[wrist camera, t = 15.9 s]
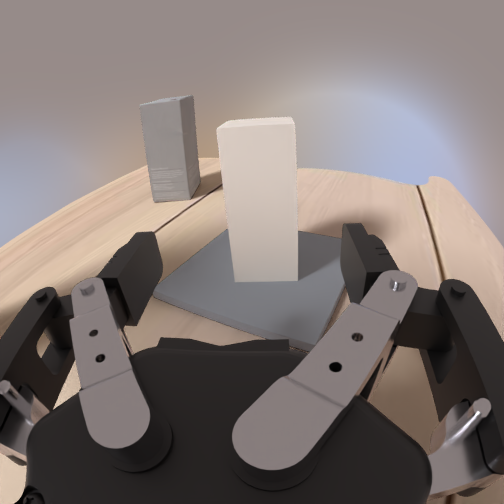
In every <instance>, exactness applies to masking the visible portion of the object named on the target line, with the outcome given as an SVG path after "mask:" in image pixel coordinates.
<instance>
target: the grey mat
mask: <svg viewBox="0 0 504 504" xmlns="http://www.w3.org/2000/svg"><path fill="white" fill-rule="evenodd" d="M341 241H342V239H341V238H336V237H330V236H325V235H319V234H313V233H308V232H302V231H298V281H275V282H235V278H234V271H233V263H232V255H231V248H230V240H229V232H228V229H226V230H225V231H224V232H222V233H221V234H220V235H219V236H217V237H216V238H215V239H214V240H212V241H211V242H210V243H209V244H207V245H206V246H205V247H204V248H202V249H201V250H200V251H199V252H197V253H196V254H195V255H194V256H192V257H191V258H190V259H189V260H187V261H186V262H185V263H184V264H182V265H181V266H180V267H179V268H177V269H176V270H175V271H174V272H172V273H171V274H170V275H169V276H168V277H166V278H165V279H164V280H163V281H161V282H160V283H159V284H158V285H157V286H156V288H155V289H154V291H153V296H154V297H155V298H157V299H159V300H162V301H164V302H167V303H169V304H172V305H174V306H177V307H180V308H182V309H185V310H187V311H190V312H193V313H195V314H198V315H201V316H203V317H206V318H209V319H211V320H214V321H217V322H220V323H222V324H225V325H228V326H231V327H234V328H237V329H240V330H242V331H245V332H248V333H251V334H254V335H257V336H260V337H263V338H266V339H270V340H275V339H289V346H292V347H295V348H298V349H302V350H305V351H308V352H310V351H311V350H312V349H313V348H314V347H315V346H316V345H317V343H318V342H319V341H320V340H321V338H322V336H323V334H324V332H325V330H326V328H327V326H328V323H329V321H330V319H331V317H332V315H333V313H334V310H335V308H336V306H337V304H338V302H339V299H340V297H341V295H342V292H343V290H344V288H345V286H346V285H345V282H344V279H343V276H342V272H341V267H340V254H341Z"/></svg>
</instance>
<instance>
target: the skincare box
mask: <svg viewBox="0 0 504 504" xmlns="http://www.w3.org/2000/svg"><path fill="white" fill-rule="evenodd" d="M140 111H141V119H142V127H143V136H144V143H145V151H146V158H147V164H148V171H149V177H150V184H151V190H152V195H153V201H154V202H163V201H178V200H190V199H191V198H192V196H193V194H194V192H195V191H196V189H197V187H198V186H199V184H200V182H201V181H200V171H199V161H198V150H197V138H196V126H195V112H194V99H193V96H192V95H190V96H181V97H173V98H164V99H160V100H156V101H153V102H149V103H146V104H142V105H140Z"/></svg>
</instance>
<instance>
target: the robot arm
mask: <svg viewBox="0 0 504 504" xmlns="http://www.w3.org/2000/svg"><path fill="white" fill-rule="evenodd" d="M340 267H341V272H342V276H343V279H344V282H345V285H346V289H347V292H348V295H349V299H350V302H351V304H350V305H349V306H348V307H347V308H346V310H345V311H344V312H343V313H342V315H341V316H340V317H339V318H338V319H337V321H336V322H335V323H334V324H333V326H332V327H331V328H330V329H329V330H328V332H327V333H326V334H325V335H324V336H323V338H322V339H321V340H320V341H319V342H318V343H317V345H316V346H315V347H314V348H313V349H312V350H311V351H310V353H309V354H307V353H304V352H301V351H297V350H293V349H289V339H275V340H252V341H247V342H242V343H236V344H231V345H225V346H217V345H213V344H209V343H205V342H201V341H197V340H193V339H183V338H163V337H161V338H160V340H159V343H158V345H157V347H152V348H148V349H145V350H142V351H139V352H137V353H135V354H134V353H133V351H132V348H131V346H130V343H129V341H128V338H127V336H126V334H125V331H124V329H123V328H124V326H125V325H127V326H137V324H138V322H139V320H140V318H141V316H142V314H143V312H144V309H145V307H146V305H147V303H148V301H149V299H150V297H151V295H152V293H153V291H154V289H155V288H156V286H157V284H158V282H159V280H160V278H161V276H162V272H163V264H162V260H161V256H160V252H159V248H158V244H157V240H156V236H155V234H154V232H152V231H151V232H137V233H135V235H134V236H133V237H132V238H131V239H130V241H129V242H128V243H127V244H125V245H124V246H123V247H121V248H120V249H118V250H117V252H116V253H115V254H114V255H113V258H111V259H110V260H109V263H107V264H106V266H105V267H104V268H103V270H102V271H101V272H100V273H99V275H98V276H97V277H95V278H88V279H85V280H83V281H81V282H80V283H78V284H77V285H76V286H75V287H74V288H73V290H72V292H71V295H67V296H62V297H59V296H58V294H57V292H56V290H55V289H54V288H52V287H46V288H43V289H40V290H39V291H37V292H36V293H34V294H33V295H32V296H31V297H30V299H29V300H28V301H27V303H26V304H25V305H24V307H23V308H22V309H21V311H20V312H19V313H18V315H17V316H16V317H15V319H14V320H13V322H12V323H11V324H10V326H9V327H8V329H7V330H6V332H5V333H4V335H3V336H2V338H1V339H0V453H1V454H3V455H5V456H7V457H8V458H9V459H11V460H12V461H13V462H15V463H16V464H18V465H21V466H24V465H27V473H26V483H25V489H24V492H23V494H22V496H21V498H20V499H19V500H18V501H17V502H16V503H14V504H426V501H429V500H433V499H437V498H440V497H444V496H447V495H450V494H453V493H457V494H458V495H460V496H464V497H468V496H472V495H474V494H476V493H478V492H480V491H481V490H483V489H485V488H486V487H488V486H490V485H491V484H493V483H495V482H496V481H498V480H499V479H501V478H502V477H504V342H503V340H502V338H501V336H500V335H499V333H498V331H497V329H496V327H495V326H494V324H493V322H492V320H491V318H490V317H489V315H488V313H487V312H486V310H485V308H484V307H483V305H482V303H481V302H480V300H479V298H478V297H477V295H476V294H475V292H474V291H473V289H472V288H471V287H470V286H469V285H468V284H466V283H464V282H462V281H460V280H455V279H448V280H445V281H443V282H442V283H441V285H440V288H439V291H437V290H430V289H424V288H420V287H418V284H417V281H416V280H415V278H414V277H413V276H411V275H410V274H408V273H406V272H403V271H400V270H399V269H398V267H397V265H396V263H395V262H394V260H393V258H392V256H391V255H390V253H389V251H388V250H387V249H386V246H385V245H384V243H383V241H382V240H381V239H379V238H378V237H376V236H375V235H368V234H367V232H366V230H365V229H364V227H363V225H362V224H361V223H351V224H343V228H342V241H341V254H340ZM43 332H45V334H46V336H47V337H48V339H49V340H50V344H49V345H48V347H47V349H46V351H45V353H44V354H43V356H42V358H40V356H39V355H38V353H37V349H36V346H37V342H38V340H39V338H40V336H41V335H42V333H43ZM398 346H404V347H411V348H417V349H419V351H420V354H421V357H422V360H423V363H424V367H425V370H426V373H427V377H428V380H429V384H430V387H431V391H432V394H433V398H434V402H435V406H436V410H437V414H438V418H439V422H440V423H439V424H438V426H437V427H436V428H435V429H434V431H433V433H432V435H431V440H430V453H429V455H428V456H427V454H426V452H425V451H424V449H423V448H422V447H421V446H420V445H419V444H418V443H417V442H416V441H415V440H414V439H412V438H411V437H410V436H409V435H407V434H406V433H405V432H404V431H403V430H401V429H400V428H399V427H398V426H397V425H395V424H394V423H393V422H392V421H391V420H389V419H388V418H387V417H386V416H385V415H383V414H382V413H381V412H380V411H379V410H377V409H376V408H375V407H374V406H373V405H372V404H370V403H369V401H370V399H371V397H372V395H373V393H374V391H375V389H376V387H377V385H378V383H379V382H380V380H381V378H382V376H383V374H384V373H385V371H386V369H387V367H388V365H389V364H390V362H391V360H392V358H393V356H394V354H395V352H396V350H397V349H398ZM75 359H76V365H77V370H78V375H79V379H80V384H81V389H80V390H79V392H78V393H77V394H75V395H74V396H72V397H71V398H69V399H68V400H67V401H65V402H64V403H62V404H61V405H59V406H58V407H56V408H55V409H54V410H53V408H54V406H55V403H56V401H57V399H58V396H59V394H60V392H61V389H62V387H63V385H64V383H65V380H66V378H67V376H68V374H69V372H70V370H71V368H72V365H73V363H74V361H75Z"/></svg>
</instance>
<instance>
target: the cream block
mask: <svg viewBox="0 0 504 504" xmlns="http://www.w3.org/2000/svg"><path fill="white" fill-rule="evenodd" d="M216 130H217V140H218V149H219V158H220V166H221V175H222V183H223V192H224V200H225V208H226V216H227V224H228V232H229V240H230V248H231V255H232V263H233V271H234V278H235V282H275V281H298V199H297V165H296V164H297V163H296V137H295V124H294V121H293V120H292V118H291V117H277V118H258V119H242V120H231V121H227V122H225V123H224V124H223V125H221V126H220V127H218V128H217V129H216Z"/></svg>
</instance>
